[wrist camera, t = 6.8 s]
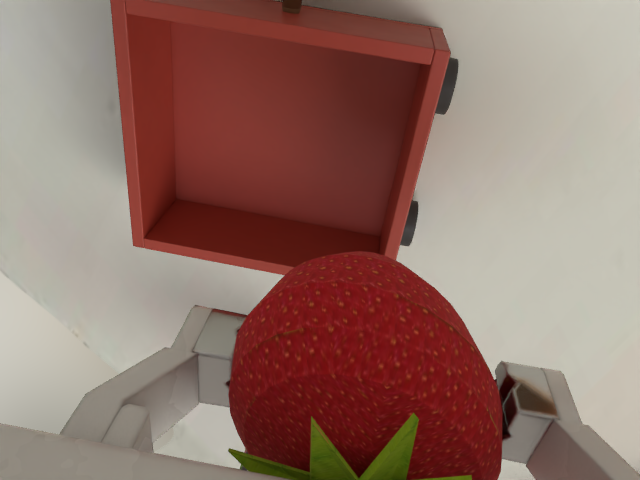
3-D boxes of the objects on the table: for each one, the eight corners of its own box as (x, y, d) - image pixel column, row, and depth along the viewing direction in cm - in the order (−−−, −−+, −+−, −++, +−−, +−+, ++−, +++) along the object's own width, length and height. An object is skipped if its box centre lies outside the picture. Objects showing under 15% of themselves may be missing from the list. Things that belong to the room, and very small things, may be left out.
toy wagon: (138, -97, 24) (76, -103, 20) (481, -43, 24) (501, -35, 19) (156, 199, 34) (116, 243, 29) (403, 245, 33) (404, 298, 28)
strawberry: (352, 370, 19) (318, 727, 11) (236, 217, 16) (59, 553, 7) (506, 321, 17) (616, 725, 8) (406, 132, 14) (424, 477, 5)
